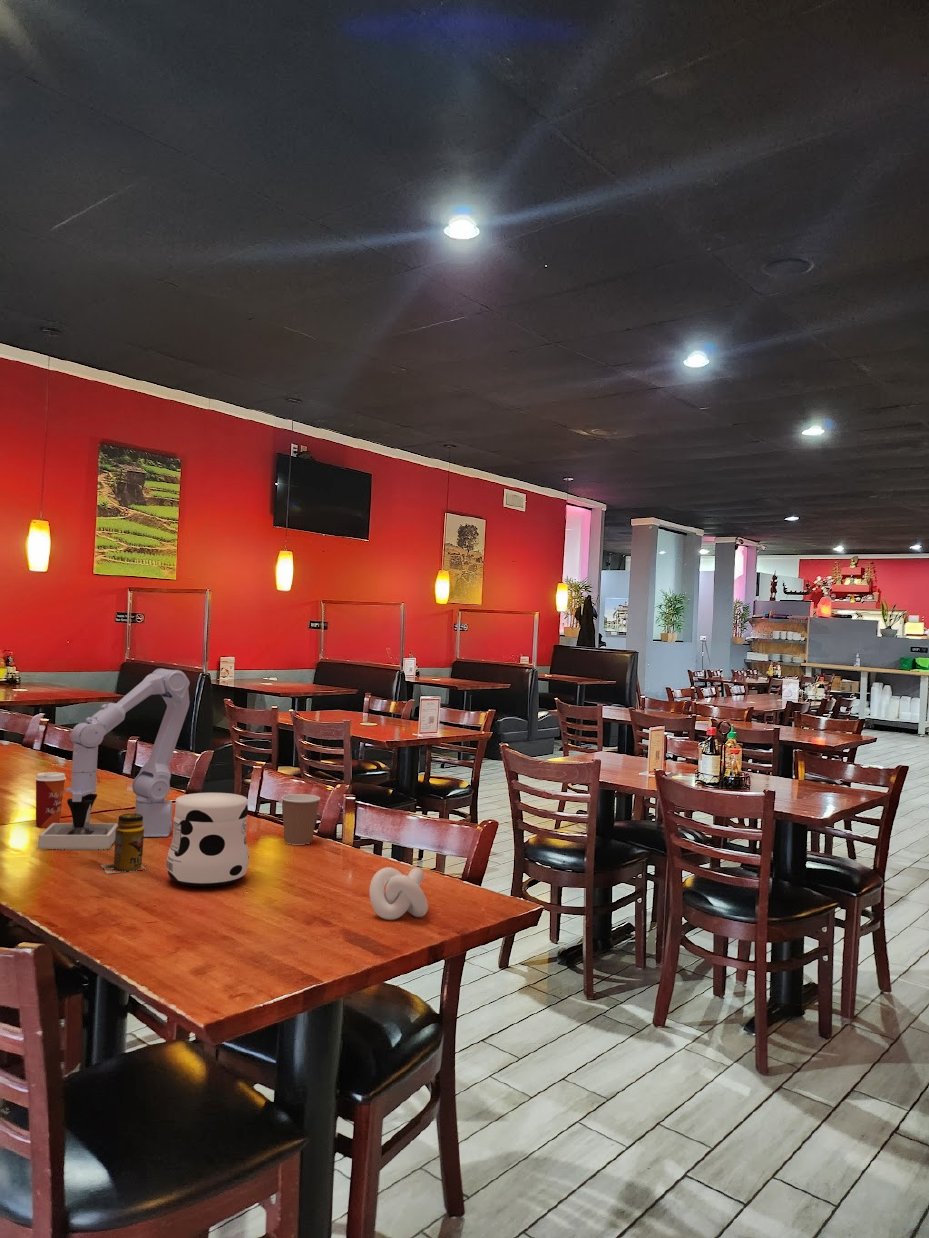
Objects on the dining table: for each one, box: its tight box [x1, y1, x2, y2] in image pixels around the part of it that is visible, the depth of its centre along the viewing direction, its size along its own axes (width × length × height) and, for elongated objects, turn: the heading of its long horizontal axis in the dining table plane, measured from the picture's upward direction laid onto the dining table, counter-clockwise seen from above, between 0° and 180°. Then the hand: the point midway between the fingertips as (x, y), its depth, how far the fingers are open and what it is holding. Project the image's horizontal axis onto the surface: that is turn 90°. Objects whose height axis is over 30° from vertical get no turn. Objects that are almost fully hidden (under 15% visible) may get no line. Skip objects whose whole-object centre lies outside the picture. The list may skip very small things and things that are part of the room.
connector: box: [71, 804, 92, 835], centre depth 214 cm, size 4×4×8 cm
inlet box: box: [37, 822, 118, 851], centre depth 214 cm, size 16×14×4 cm
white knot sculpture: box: [369, 866, 429, 921], centre depth 170 cm, size 11×12×9 cm
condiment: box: [100, 813, 147, 875], centre depth 194 cm, size 7×8×12 cm
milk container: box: [166, 792, 250, 888], centre depth 187 cm, size 17×17×18 cm
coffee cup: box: [280, 793, 321, 846], centre depth 226 cm, size 10×10×12 cm
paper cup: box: [34, 771, 67, 829], centre depth 231 cm, size 8×8×14 cm
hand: (80, 825), depth 214 cm, fingers closed on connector, 4 cm apart
